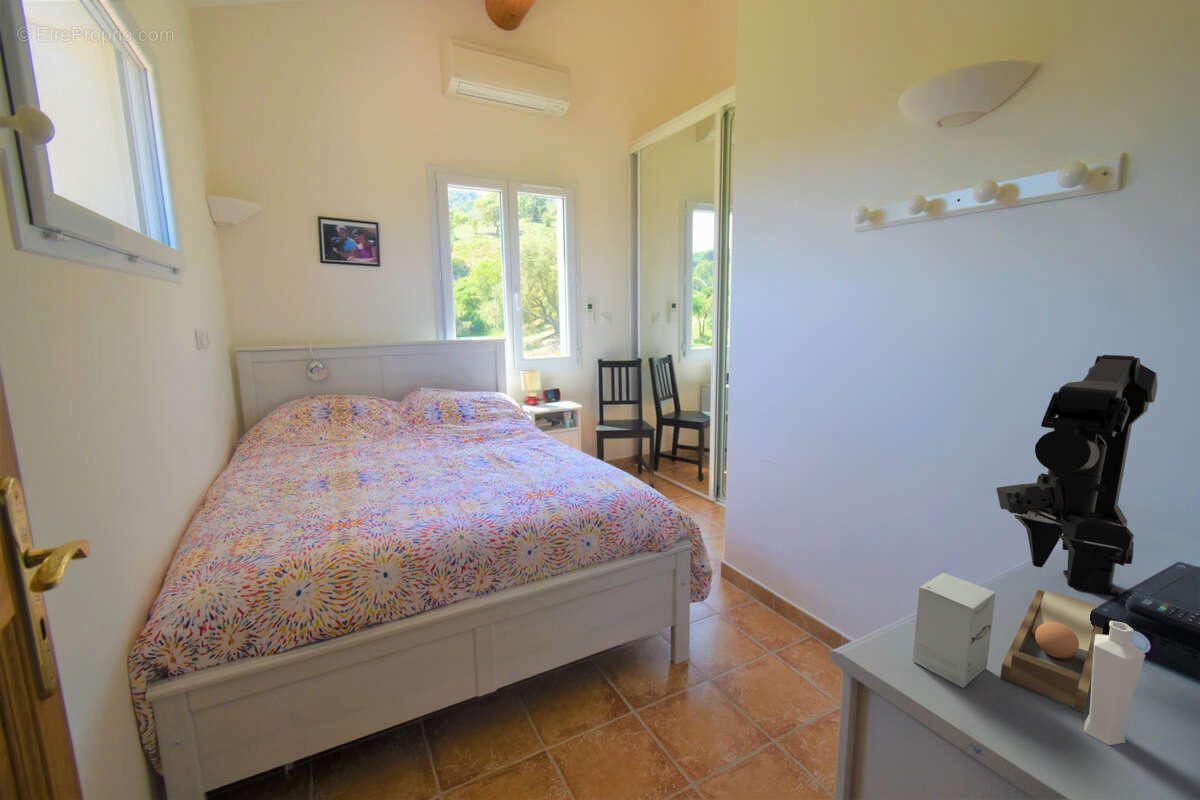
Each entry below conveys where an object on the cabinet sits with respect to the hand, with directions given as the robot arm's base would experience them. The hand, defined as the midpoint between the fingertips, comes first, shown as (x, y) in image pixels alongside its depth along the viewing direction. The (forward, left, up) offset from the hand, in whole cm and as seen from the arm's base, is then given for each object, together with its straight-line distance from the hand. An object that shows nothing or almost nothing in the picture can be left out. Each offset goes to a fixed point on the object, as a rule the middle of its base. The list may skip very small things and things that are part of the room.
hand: (1053, 576), depth 78 cm
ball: (0, +1, -10) cm, 10 cm away
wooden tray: (-3, +2, -13) cm, 14 cm away
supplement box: (+8, -13, -14) cm, 20 cm away
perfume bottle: (+15, +3, -13) cm, 20 cm away
